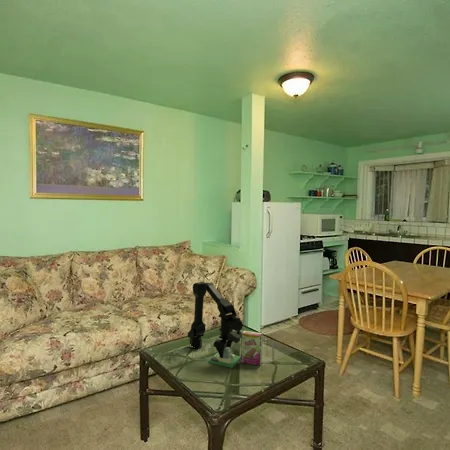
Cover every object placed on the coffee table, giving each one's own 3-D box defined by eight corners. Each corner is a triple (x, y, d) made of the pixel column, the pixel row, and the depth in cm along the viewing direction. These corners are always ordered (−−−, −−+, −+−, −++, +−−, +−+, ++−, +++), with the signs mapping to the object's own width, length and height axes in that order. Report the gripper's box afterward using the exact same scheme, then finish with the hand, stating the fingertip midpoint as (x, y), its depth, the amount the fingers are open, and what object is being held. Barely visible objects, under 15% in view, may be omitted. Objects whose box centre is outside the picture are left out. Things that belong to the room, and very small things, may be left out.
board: (208, 362, 171) (208, 356, 171) (218, 354, 183) (218, 348, 183) (232, 368, 165) (232, 361, 165) (240, 358, 177) (241, 352, 177)
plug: (220, 359, 172) (220, 348, 172) (223, 357, 176) (223, 346, 176) (228, 361, 170) (228, 350, 170) (231, 358, 174) (231, 347, 174)
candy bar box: (240, 363, 172) (240, 332, 172) (242, 359, 176) (243, 330, 176) (260, 366, 168) (261, 335, 168) (262, 362, 173) (263, 332, 173)
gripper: (233, 334, 161) (232, 364, 161) (245, 323, 178) (244, 351, 178) (213, 330, 166) (212, 360, 166) (227, 321, 183) (226, 348, 183)
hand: (225, 355), depth 173 cm, fingers open, 9 cm apart
